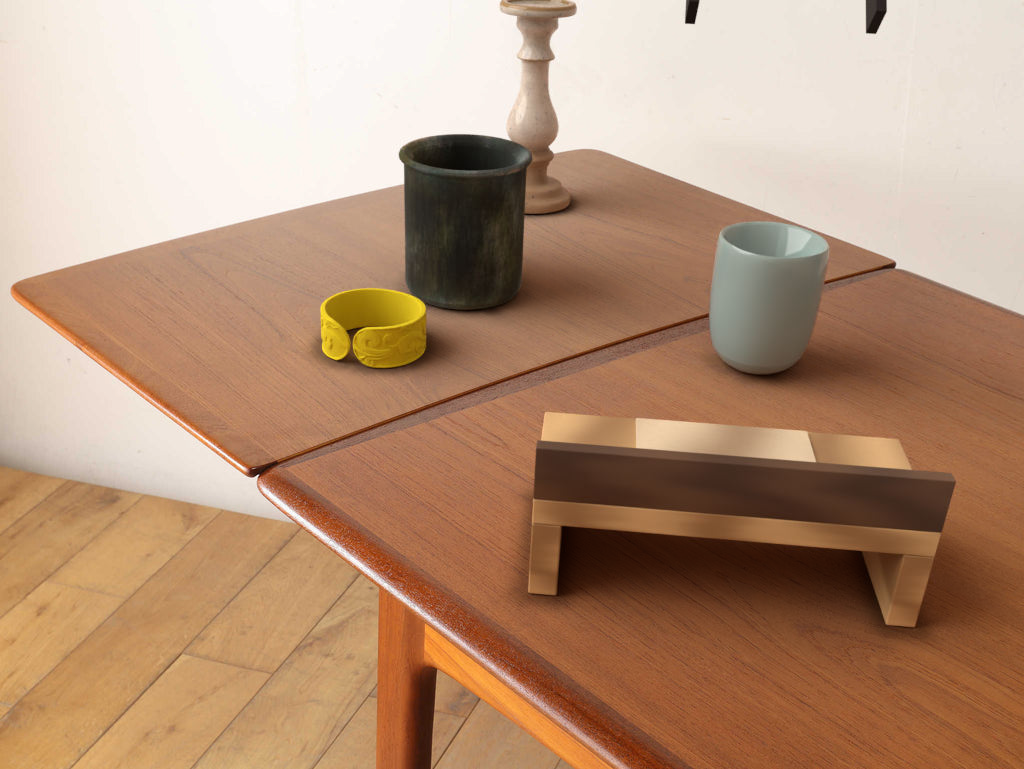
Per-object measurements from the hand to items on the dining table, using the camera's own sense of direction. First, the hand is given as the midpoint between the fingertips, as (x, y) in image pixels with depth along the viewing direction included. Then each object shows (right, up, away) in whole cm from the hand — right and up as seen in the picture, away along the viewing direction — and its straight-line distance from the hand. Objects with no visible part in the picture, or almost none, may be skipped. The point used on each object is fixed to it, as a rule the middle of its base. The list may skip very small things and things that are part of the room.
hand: (783, 18), depth 79 cm
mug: (-25, -18, +14) cm, 34 cm away
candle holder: (-19, -8, +34) cm, 39 cm away
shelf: (-9, -37, -20) cm, 43 cm away
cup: (-2, -26, +2) cm, 26 cm away
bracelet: (-31, -25, +2) cm, 40 cm away
